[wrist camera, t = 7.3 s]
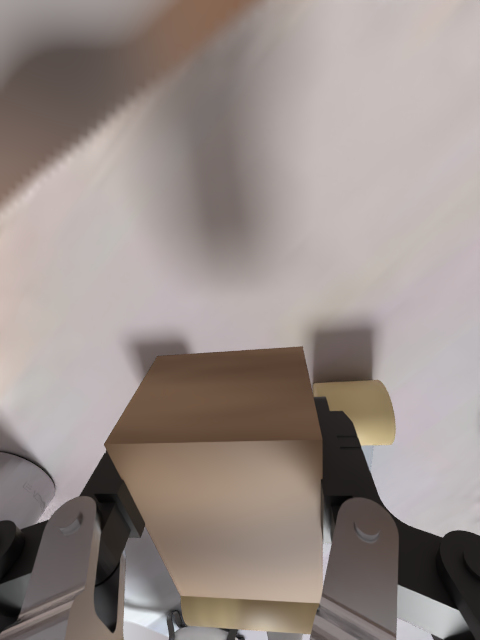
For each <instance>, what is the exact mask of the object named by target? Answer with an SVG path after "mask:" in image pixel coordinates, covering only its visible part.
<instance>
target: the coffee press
mask: <svg viewBox="0 0 480 640" xmlns="http://www.w3.org/2000/svg"><path fill="white" fill-rule="evenodd" d="M172 615H174V617H175V620H176V623H177V625H178V627H179V628H180V629H179V630H177V631H176V632H174V626H173V622H172ZM167 625H168V630H169V640H245V639H244V638H240V639H237V638H236V634H237V631H238V629H227V628H219V629H218V628H213V627H198V626H186V625H184V624H183V622H182V620H181V617H180V614H179V612H178V611H177V610H175V611H173V612H171V613H169V615H168V616H167ZM228 631H229V632H228Z"/></svg>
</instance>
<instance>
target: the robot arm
mask: <svg viewBox="0 0 480 640" xmlns="http://www.w3.org/2000/svg"><path fill="white" fill-rule="evenodd" d="M313 398H314V402H315V407H316V412H317V416H318V421H319V426H320V430H321V435H322V452H323V479H321V531H322V538H323V544H332V545H331V550H330V555H329V560H328V565H327V570H326V575H325V580H324V585H323V590H322V595H321V600H320V604H319V607H318V609H317V611H316V615H315V618H314V622H313V627H312V631H311V636H310V640H396V627H397V618H399V619H401V620H403V621H405V622H408V623H410V624H412V625H414V626H416V627H418V628H420V629H422V630H424V631H427V632H429V633H431V635H432V637H433V639H434V640H480V536H479V535H477V534H474V533H471V532H467V531H461V530H457V531H452V532H449V533H447V534H446V535H445V536H444V537H443V538H442V537H439V536H436V535H433V534H431V533H428V532H425V531H422V530H419V529H416V528H413V527H411V526H408V525H407V524H405V523H403V522H401V521H400V520H398V519H397V518H396V517H395V516H393V515H392V514H391V513H390V512H389V511H388V510H387V508H386V507H385V506H384V505H383V503H382V501H381V500H380V497H379V495H378V492H377V490H376V487H375V484H374V481H373V478H372V475H371V473H370V470H369V467H368V464H367V461H366V458H365V455H364V453H363V450H362V448H361V444H360V441H359V438H358V436H357V433H356V430H355V427H354V424H353V422H352V421H351V419H350V418H349V417H348V416H347V415H346V414H345V413H344V412H343V411H330V409H329V406H328V402H327V399H326V397H325V396H322V397H313ZM54 495H55V487H54V484H53V482H52V480H51V479H50V478H49V476H48V475H47V474H46V473H45V472H44V471H43V470H41V469H40V468H39V467H37V466H36V465H34V464H33V463H31V462H29V461H27V460H25V459H23V458H20V457H18V456H15V455H11V454H7V453H2V452H0V640H124V639H123V616H124V591H125V566H126V554H125V551H124V548H125V545H126V542H127V540H128V537H129V538H141V535H142V532H143V530H144V527H145V522H144V520H143V518H142V516H141V514H140V512H139V510H138V508H137V506H136V504H135V502H134V500H133V498H132V496H131V494H130V492H129V490H128V488H127V486H126V484H125V482H124V480H122V479H121V477H120V475H119V473H118V471H117V469H116V467H115V465H114V463H113V461H112V459H111V458H110V456H109V454H108V452H107V450H106V453H104V455H103V457H102V459H101V460H100V462H99V464H98V465H97V467H96V469H95V471H94V472H93V474H92V476H91V477H90V479H89V481H88V483H87V484H86V486H85V488H84V489H83V491H82V493H81V494H80V496H79V497H76V498H74V499H71V500H69V501H68V502H66V503H65V504H63V505H62V506H61V507H60V508H59V509H58V510H57V511H56V512H55V513H54V514H53V515H52V516H51V518H50V519H49V520H47V521H44V522H41V523H38V524H36V523H37V521H38V520H39V518H40V517H41V515H42V514H43V512H44V511H45V509H46V507H47V506H48V504H49V503H50V501H51V500H52V498H53V497H54Z"/></svg>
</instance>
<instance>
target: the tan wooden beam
mask: <svg viewBox="0 0 480 640" xmlns="http://www.w3.org/2000/svg"><path fill="white" fill-rule="evenodd" d="M104 446H105V448H106V450H107V452H108V454H109V456H110V458H111V459H112V461H113V463H114V465H115V467H116V469H117V471H118V473H119V475H120V477H121V479H122V480H124V482H125V484H126V486H127V488H128V490H129V492H130V494H131V496H132V498H133V500H134V502H135V504H136V506H137V508H138V510H139V512H140V514H141V516H142V518H143V520H144V522H145V527H146V529H147V531H148V532H149V534H150V536H151V538H152V540H153V542H154V544H155V546H156V548H157V550H158V552H159V554H160V556H161V558H162V560H163V562H164V564H165V566H166V568H167V570H168V572H169V574H170V576H171V578H172V580H173V582H174V584H175V586H176V588H177V590H178V592H179V594H180V596H181V609H182V615H183V619H184V622H185V624H186V625H188V626H198V627H213V628H227V629H242V630H256V631H271V632H285V633H299V634H311V631H312V627H313V622H314V618H315V615H316V611H317V609H318V607H319V604H320V600H321V595H322V590H323V538H322V531H321V479H323V452H322V435H321V430H320V426H319V421H318V416H317V412H316V407H315V402H314V398H313V393H312V388H311V384H310V379H309V374H308V370H307V365H306V360H305V356H304V351H303V346H302V347H287V348H272V349H257V350H242V351H227V352H212V353H197V354H182V355H167V356H157V358H156V359H155V361H154V363H153V364H152V366H151V367H150V369H149V371H148V372H147V374H146V376H145V377H144V379H143V381H142V382H141V384H140V386H139V387H138V389H137V391H136V392H135V394H134V396H133V397H132V399H131V400H130V402H129V404H128V405H127V407H126V409H125V410H124V412H123V414H122V415H121V417H120V419H119V420H118V422H117V424H116V425H115V427H114V429H113V430H112V432H111V433H110V435H109V437H108V438H107V440H106V442H105V443H104Z"/></svg>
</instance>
